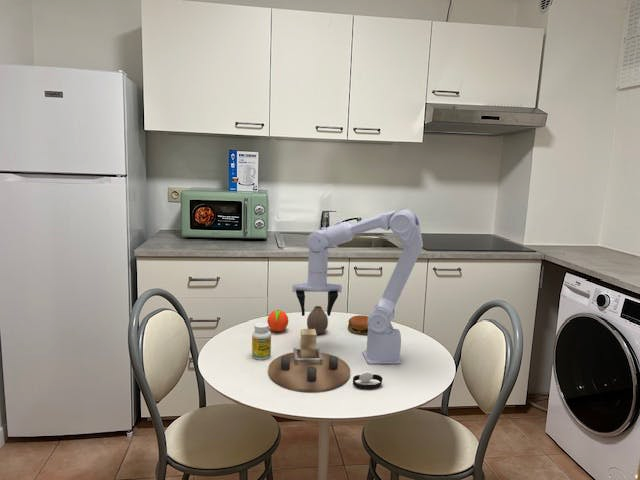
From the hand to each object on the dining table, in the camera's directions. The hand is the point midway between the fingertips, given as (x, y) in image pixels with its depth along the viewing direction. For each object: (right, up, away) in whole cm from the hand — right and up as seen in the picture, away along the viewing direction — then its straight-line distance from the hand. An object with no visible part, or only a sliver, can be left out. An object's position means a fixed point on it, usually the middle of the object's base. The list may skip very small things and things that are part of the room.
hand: (315, 314), depth 140 cm
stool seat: (-2, -13, -14) cm, 19 cm away
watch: (+13, -15, -20) cm, 29 cm away
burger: (+15, -8, +18) cm, 25 cm away
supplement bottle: (-16, -11, -6) cm, 20 cm away
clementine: (-13, -8, +13) cm, 20 cm away
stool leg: (-2, -11, -8) cm, 14 cm away
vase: (0, -8, +14) cm, 16 cm away
